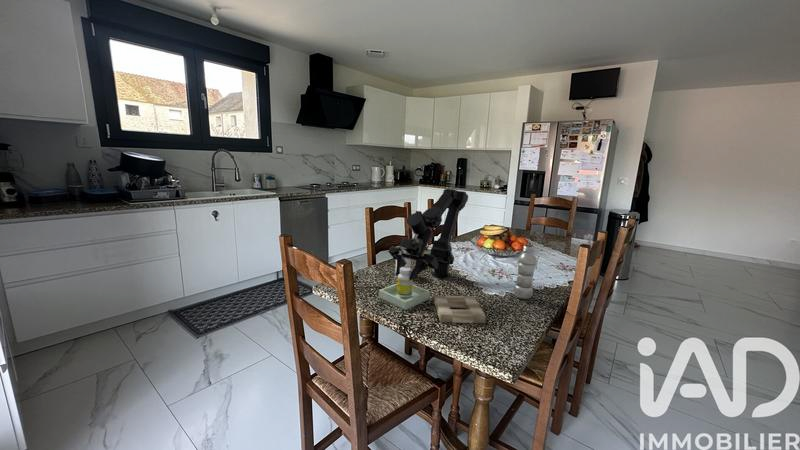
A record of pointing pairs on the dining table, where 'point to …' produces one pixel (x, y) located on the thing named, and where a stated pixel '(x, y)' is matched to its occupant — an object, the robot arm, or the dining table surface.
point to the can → (408, 261)
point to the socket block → (455, 315)
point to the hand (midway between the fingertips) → (403, 277)
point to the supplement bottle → (404, 282)
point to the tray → (404, 302)
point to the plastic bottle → (525, 273)
